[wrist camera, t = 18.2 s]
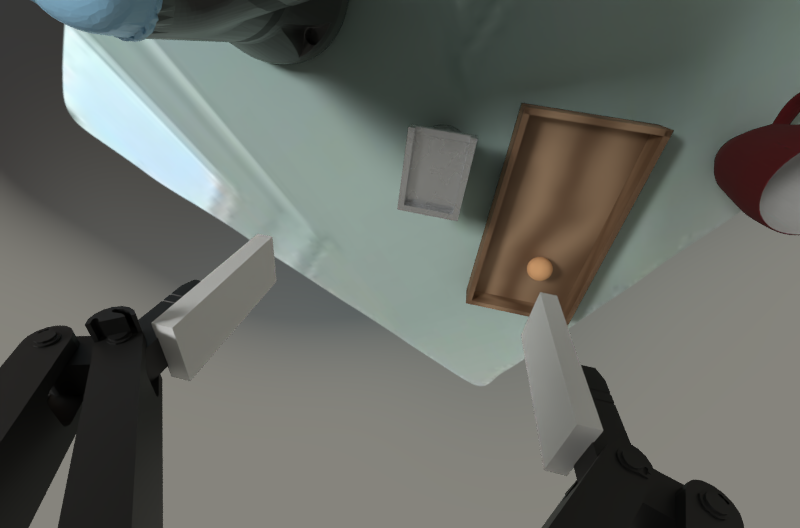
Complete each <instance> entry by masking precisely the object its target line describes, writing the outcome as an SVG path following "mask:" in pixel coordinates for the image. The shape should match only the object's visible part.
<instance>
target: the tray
mask: <svg viewBox="0 0 800 528" xmlns="http://www.w3.org/2000/svg"><path fill="white" fill-rule="evenodd" d="M673 131H674V130H671V129H669V128H666V127H663V126H661V125H657V124H651V123H645V122H638V121H632V120H626V119H620V118H613V117H607V116H601V115H594V114H588V113H582V112H576V111H569V110H563V109H557V108H550V107H544V106H538V105H532V104H525V103H521V107H520V110H519V114H518V117H517V120H516V124H515V127H514V131H513V134H512V137H511V141H510V144H509V148H508V151H507V154H506V158H505V161H504V165H503V168H502V171H501V175H500V178H499V182H498V185H497V188H496V192H495V195H494V199H493V202H492V205H491V209H490V212H489V216H488V219H487V222H486V226H485V229H484V233H483V236H482V239H481V243H480V246H479V250H478V253H477V256H476V260H475V263H474V267H473V270H472V273H471V277H470V280H469V284H468V287H467V292H466V303H468V304H473V305H478V306H482V307H487V308H492V309H496V310H501V311H506V312H510V313H515V314H520V315H524V316H530V314H531V311H532V309H533V307H534V305H535V302H536V300H537V298H538V296H539V294H540V292H542V293H547V294H551V295H556V296H557V297H558V300H559V303H560V306H561V309H562V312H563V315H564V318H565V320H566V323H567V325H568V324H569V322H570V321H571V319H572V317H573V315H574V313H575V311H576V310H577V308H578V306H579V304H580V302H581V300H582V299H583V297H584V295H585V293H586V291H587V289H588V287H589V286H590V284H591V282H592V280H593V278H594V276H595V275H596V273H597V271H598V269H599V267H600V265H601V264H602V262H603V260H604V258H605V256H606V254H607V253H608V251H609V249H610V247H611V245H612V243H613V241H614V240H615V238H616V236H617V234H618V232H619V230H620V229H621V227H622V225H623V223H624V221H625V219H626V218H627V216H628V214H629V212H630V210H631V208H632V206H633V205H634V203H635V201H636V199H637V197H638V195H639V194H640V192H641V190H642V188H643V186H644V184H645V183H646V181H647V179H648V177H649V175H650V173H651V171H652V170H653V168H654V166H655V164H656V162H657V160H658V159H659V157H660V155H661V153H662V151H663V149H664V148H665V146H666V144H667V142H668V140H669V138H670V137H671V135H672V133H673ZM536 257H544V258H546V259H548V260H549V261H550V262H551V264H552V266H553V272H552V274H551V276H550V277H549V278H548V279H546V280H543V281H536V280H534V279H532V278H531V277H530V276H529V275H528V273H527V265H528V263H529V262H530V261H531V260H532V259H533V258H536Z"/></svg>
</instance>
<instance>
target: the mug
mask: <svg viewBox="0 0 800 528" xmlns="http://www.w3.org/2000/svg"><path fill="white" fill-rule="evenodd" d="M799 112H800V93H798V94H797V95H795V96H794V97H793V98H792V99H791V100H790V101H788V103H787V104H786V105H785V106H784V107H783V109H782V110H781V111H780V113H779V114H778V116H777V117H776V119H775V121H774V122H773V124H771V125H767V126H764V127H760V128H757V129H754V130H751V131H748V132H745V133H743V134H741V135H739V136H737V137H734V138H732V139H731V140H729V141H728V142H727V143H725V144H724V145H723V146H722V147H721V148H720V150H719V151H718V153H717V155H716V157H715V161H714V175H715V179H716V181H717V184H718V185H719V187H720V188H721V189H722V190H723V191H724V192H725V193H726V194H727V196H728V197H729V198H730V199H731V200H732V201H733V202H734V203H735V204H736V205H737V206H738V207H739V208H740V209H741V210H742V211H743V212H744V213H745V214H746V215H748V216H749V217H751V218H752V219H754V220H755V221H757V222H759V223H761V224H762V225H764V226H766V227H768V228H770V229H772V230H774V231H777V232H780V233H783V234H789V235H800V125H790V124H791V122H792V121H793V119H794V118H795V117H796V116H797V115H798V114H799Z"/></svg>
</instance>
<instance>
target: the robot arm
mask: <svg viewBox="0 0 800 528" xmlns="http://www.w3.org/2000/svg"><path fill="white" fill-rule="evenodd" d="M31 1H33V2H35V3H37V4H38V5H39V6H40V7H41V8H42V9H43V10H44V11H46V12H47V13H48V14H49V15H50V16H52V17H53V18H55V19H57V20H59V21H60V22H62V23H64V24H66V25H68V26H70V27H73V28H75V29H78V30H81V31H84V32H88V33H93V34H100V35H108V36H114V37H116V38H119V39H121V40H123V41H134V42H136V41H141V40H144V39H165V40H190V41H215V42H229V43H231V44H232V45H234V46H235V47H237V48H238V49H240V50H241V51H243V52H244V53H246V54H248V55H250V56H251V57H254V58H256V59H258V60H261V61H264V62H268V63H273V64H295V63H301V62H304V61H307V60H310V59H312V58H314V57H315V56H317V55H318V54H320V53H321V52H322V51H323V50H325V49H326V48H327V47H328V46H329V44H330V43H331V42H332V41H333V39H334V38H335V36H336V35H337V33H338V31H339V29H340V27H341V25H342V23H343V20H344V17H345V14H346V10H347V6H348V1H349V0H31ZM275 282H276V271H275V261H274V250H273V240H272V237H271V236H266V235H261V234H257V235H256V236H254V237H253V238H252V239H251V240H250V241H248V242H247V243H246V244H245V245H244V246H243V247H241V248H240V249H239V250H238V251H237V252H235V253H234V254H233V255H232V256H231V257H229V258H228V259H227V260H226V261H225V262H223V263H222V264H221V265H220V266H219V267H217V268H216V269H215V270H214V271H213V272H211V273H210V274H209V275H208V276H207V277H206V278H204V279H203V280H202V281H198V280H193V281H191V282H188V283H186V284H184V285H182V286H181V287H179V288H178V289H177V290H175V291H174V292H173V293H172V295H169V296H168V297H167V298H165V299H164V301H163V302H160V303H159V304H158V305H156V306H155V307H154V308H153V309H152V310H150V311H149V312H148V313H146V314H145V315H144V316H143V317H141V318H140V319H139V320H138V319H137V316H136V314H135V311H134V310H133V309H131V308H130V307H123V306H120V307H111V308H108V309H104V310H102V311H100V312H98V313H96V314H94V315H93V316H92V317H90V318H89V319H88V320H87V322H86V324H85V326H86V328H87V330H88V332H89V333H90V335H91V336H75V334H74V332H73V330H72V329H71V328H70V327H67V326H52V327H47V328H44V329H42V330H39V331H36V332H34V333H33V334H31V335H29V336H27V337H26V338H25V339H24V340H23V341H22V342H21V343H20V344H19V345H18V347H17V348H16V349H15V350H14V351H13V353H12V354H11V355H10V356H9V358H8V359H7V360H6V361H5V362H4V364H3V365H2V366H1V367H0V528H28V527H29V526H30V523H31V522H32V520H33V518H34V516H35V513H36V512H37V510H38V508H39V506H40V504H41V502H42V500H43V498H44V496H45V494H46V492H47V490H48V488H49V486H50V484H51V482H52V480H53V478H54V476H55V474H56V472H57V470H58V468H59V466H60V464H61V462H62V460H63V458H64V456H65V454H66V452H67V451H68V449H69V447H70V444H71V443H72V441H73V439H74V437H75V435H76V438H75V444H74V449H73V454H72V459H71V464H70V469H69V474H68V479H67V484H66V489H65V494H64V499H63V504H62V509H61V515H60V520H59V524H58V528H163V485H162V484H163V479H162V478H163V474H162V473H163V471H162V470H163V469H162V468H163V467H162V464H163V458H162V377H161V375H160V373H161V372H162V371H163V370H164V369H165V368H166V367H167V366H168V368H169V371H170V373H171V376H172V377H176V378H180V379H184V380H188V381H191V380H192V378H193V377H194V376H195V375H196V374H197V373H198V372H199V370H200V369H201V368H202V367H203V366H204V365H205V363H206V362H207V361H208V360H209V359H210V358H211V357H212V355H213V354H214V353H215V352H216V350H218V348H219V347H220V346H221V345H222V344H223V343H224V341H225V340H226V339H227V338H228V337H229V335H231V333H232V332H233V331H234V330H235V329H236V328H237V327H238V325H239V324H240V323H241V322H242V321H243V319H244V318H245V317H246V316H247V315H248V314H249V312H250V311H251V310H252V309H253V308H254V307H255V306H256V304H257V303H258V302H259V301H260V300H261V299H262V297H263V296H264V295H265V294H266V293H267V292H268V291H269V289H270V288H271V287H272V286H273V285H274V283H275ZM521 338H522V343H523V349H524V355H525V361H526V367H527V372H528V379H529V385H530V390H531V396H532V402H533V408H534V414H535V420H536V426H537V432H538V438H539V443H540V450H541V456H542V461H543V467H544V470H546V471H550V472H554V473H558V474H561V475H566V476H567V475H568V474H569V472H570V471H571V470H572V469H573V468H574V469H575V473H576V477H577V480H576V482H575V483H574V484H573V485H572V486H571V487H570V489H569V490H568V491H567V492H566V493H565V497H564V498H563V499H562V501H561V502H560V504H559V505H558V506H557V507H556V509H555V510H554V512H553V513H552V514H551V516H550V517H549V518H548V520H547V521H546V523H545V524H544V525H543V527H542V528H744V524H743V521H742V518H741V515H740V513H739V511H738V510H737V509H736V507H735V505H734V504H733V503H732V502H731V501H730V500H729V499H728V498H727V497H726V496H725V495H724V494H723V493H722V492H721V491H719V490H718V489H717V488H715V487H714V486H712V485H710V484H708V483H706V482H704V481H701V480H691V481H689V482H688V483H686V484H685V485H683V484H681V483H679V482H677V481H675V480H673V479H672V478H670V477H668V476H666V475H664V474H662V473H660V472H658V471H657V470H655V469H653V467H652V465H651V463H650V462H649V460H648V459H647V457H646V456H645V455H644V454H643V453H642V452H641V451H640V450H639V449H637V448H636V447H634V446H633V445H631V443H630V441H629V439H628V436H627V433H626V431H625V429H624V426H623V424H622V421H621V419H620V416H619V414H618V411H617V409H616V406H615V405H614V401H613V399H612V396H611V395H610V391H609V389H608V386H607V384H606V381H605V380H604V378H603V377H602V376H601V375H600V373H599V372H598V371H597V370H596V369H595V368H592V367H587V366H583V365H581V364H580V361H579V358H578V355H577V352H576V349H575V347H574V344H573V341H572V338H571V335H570V332H569V329H568V326H567V323H566V320H565V318H564V315H563V312H562V309H561V306H560V303H559V300H558V297H557V296H556V295H551V294H547V293H542V292H540V294H539V296H538V298H537V300H536V302H535V305H534V307H533V309H532V311H531V314H530V316H529V318H528V320H527V323H526V325H525V327H524V329H523V331H522V334H521Z"/></svg>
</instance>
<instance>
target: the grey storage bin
mask: <svg viewBox="0 0 800 528" xmlns="http://www.w3.org/2000/svg"><path fill="white" fill-rule="evenodd" d="M477 140H478V136H477V135H471V134H465V133H461V132H460V131H459V130H458V129H456V128H454V127H451V126H448V125H437V126H433V127H425V126H419V125H414V124H411V125H410V126H409V127H408V134H407V141H406V149H405V156H404V164H403V171H402V179H401V186H400V193H399V201H398V208H397V209H398V210H403V211H408V212H414V213H419V214H424V215H429V216H434V217H439V218H444V219H449V220H454V221H458V217H459V213H460V209H461V205H462V201H463V197H464V193H465V189H466V184H467V180H468V176H469V172H470V168H471V164H472V160H473V156H474V152H475V148H476V144H477Z"/></svg>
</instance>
